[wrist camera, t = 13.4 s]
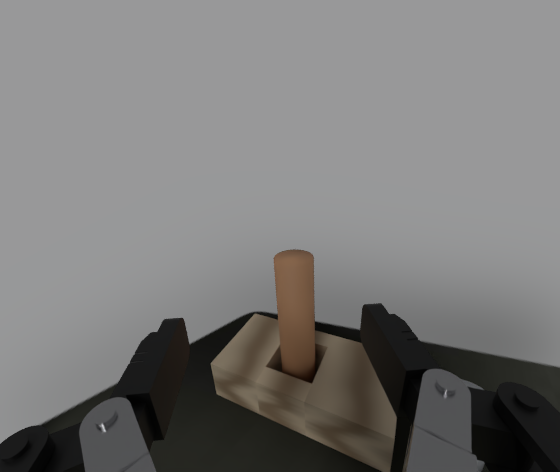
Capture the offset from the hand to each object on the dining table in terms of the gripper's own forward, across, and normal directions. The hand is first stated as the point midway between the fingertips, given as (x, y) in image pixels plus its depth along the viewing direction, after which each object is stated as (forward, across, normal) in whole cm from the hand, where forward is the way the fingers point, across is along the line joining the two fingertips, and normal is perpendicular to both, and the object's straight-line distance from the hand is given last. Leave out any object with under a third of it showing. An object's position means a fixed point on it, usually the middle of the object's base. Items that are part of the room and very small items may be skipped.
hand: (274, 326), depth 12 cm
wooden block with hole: (+14, -3, +22) cm, 26 cm away
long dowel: (+14, -3, +22) cm, 26 cm away
